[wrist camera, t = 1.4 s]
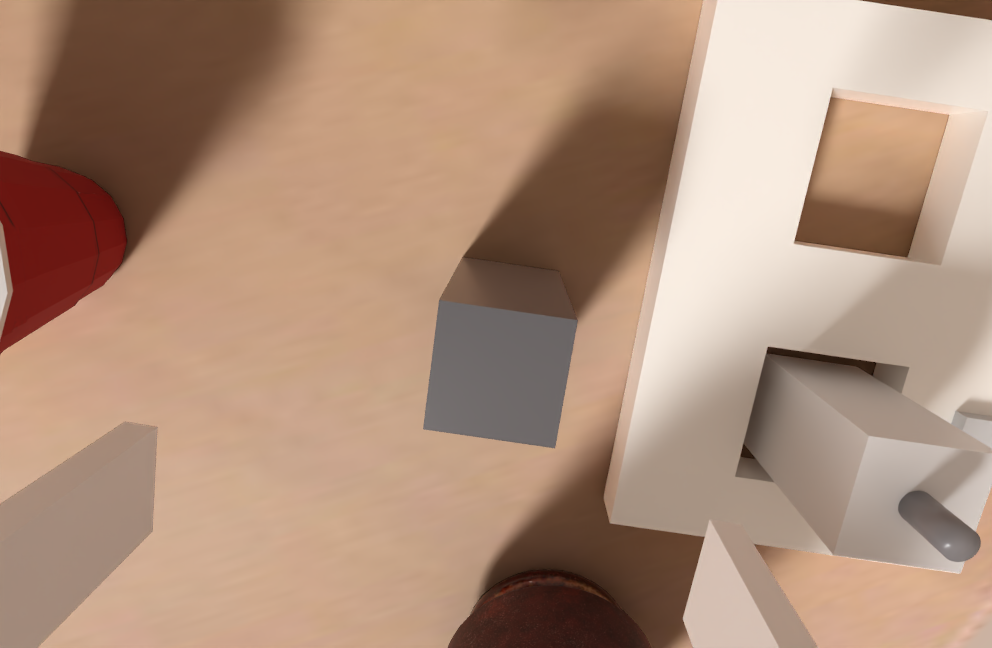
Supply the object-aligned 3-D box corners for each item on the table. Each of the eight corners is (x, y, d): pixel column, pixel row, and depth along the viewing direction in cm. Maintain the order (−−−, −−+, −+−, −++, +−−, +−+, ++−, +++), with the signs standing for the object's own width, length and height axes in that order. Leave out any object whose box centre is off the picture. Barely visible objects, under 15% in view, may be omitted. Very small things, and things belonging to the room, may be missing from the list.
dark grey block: (462, 256, 32) (439, 299, 22) (558, 270, 32) (577, 320, 22) (450, 349, 33) (423, 429, 23) (543, 362, 33) (555, 448, 23)
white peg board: (704, -5, 29) (841, -125, 17) (1094, 53, 29) (1511, -23, 17) (603, 497, 34) (650, 679, 22) (928, 544, 34) (1149, 750, 22)
